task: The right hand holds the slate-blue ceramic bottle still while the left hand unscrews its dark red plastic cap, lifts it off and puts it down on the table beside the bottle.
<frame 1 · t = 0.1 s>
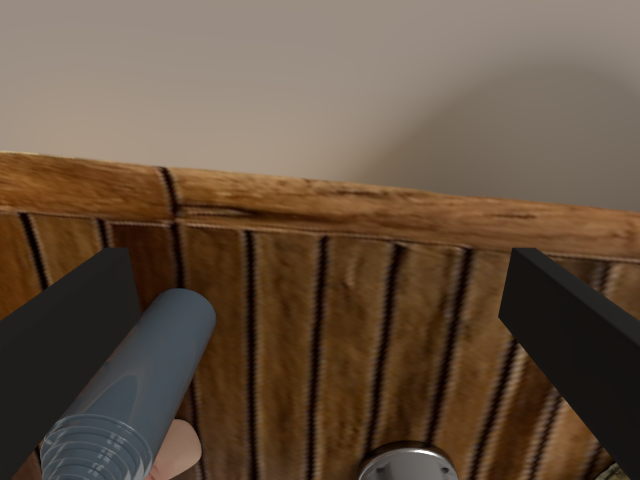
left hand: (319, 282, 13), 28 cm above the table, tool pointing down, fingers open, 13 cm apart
bottle: (183, 317, 46), on the table
fossil: (616, 478, 57), on the table
anatomical model: (162, 447, 55), on the table
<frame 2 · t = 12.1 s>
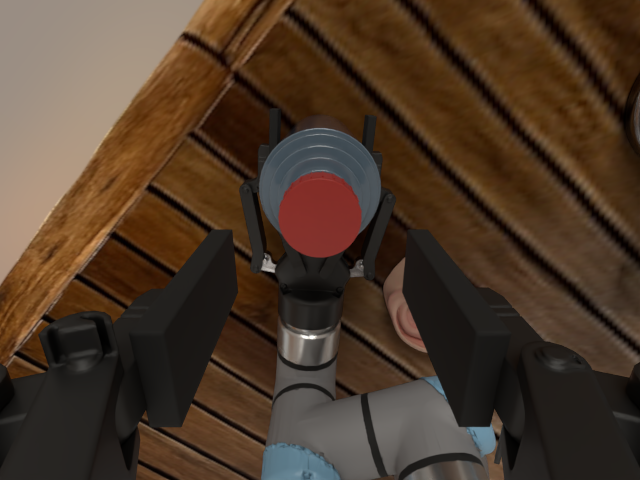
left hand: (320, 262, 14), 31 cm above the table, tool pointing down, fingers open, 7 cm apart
right hand: (323, 112, 35), fingers closed on bottle, 8 cm apart
cap: (320, 218, 20), point 25 cm above the table, screwed on, not yet turned
bottle: (320, 152, 43), on the table, touching right hand
anatomical model: (422, 296, 50), on the table
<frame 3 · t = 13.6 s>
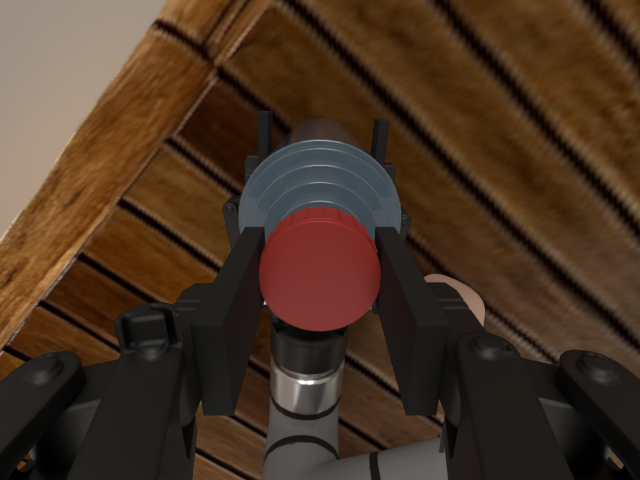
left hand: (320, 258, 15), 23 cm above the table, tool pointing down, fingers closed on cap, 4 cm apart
cap: (319, 275, 13), point 25 cm above the table, screwed on, not yet turned, touching left hand
bottle: (319, 161, 36), on the table, touching right hand
anatomical model: (437, 324, 44), on the table
when the left hand's fingers open (1 cm above the table, at t = 31.7 s): cap stays where it is, point 1 cm above the table.
when the right hand's fingers open (7 cm above the table, at t = 33.0 s): bottle stays where it is, on the table.
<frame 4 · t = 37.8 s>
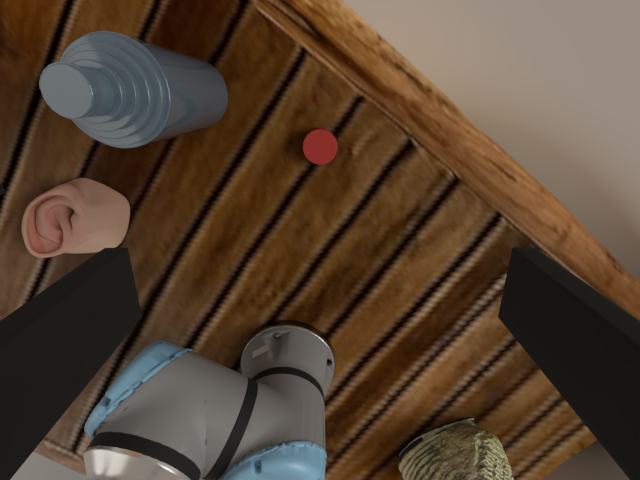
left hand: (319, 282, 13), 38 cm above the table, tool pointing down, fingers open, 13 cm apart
cap: (320, 146, 47), point 1 cm above the table, off its thread
bottle: (194, 94, 46), on the table
fossil: (442, 439, 67), on the table
anatomical model: (85, 216, 52), on the table
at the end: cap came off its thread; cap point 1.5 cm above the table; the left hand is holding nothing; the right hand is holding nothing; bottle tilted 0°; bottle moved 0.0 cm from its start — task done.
